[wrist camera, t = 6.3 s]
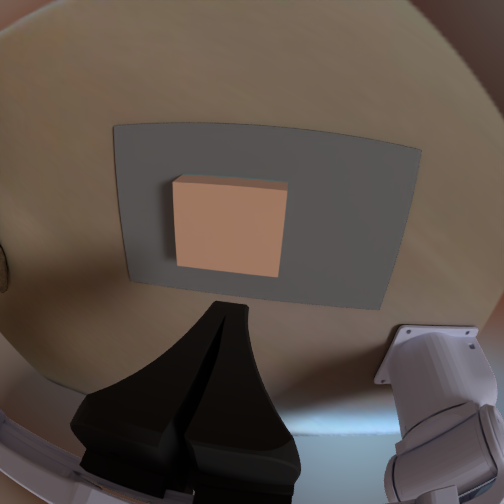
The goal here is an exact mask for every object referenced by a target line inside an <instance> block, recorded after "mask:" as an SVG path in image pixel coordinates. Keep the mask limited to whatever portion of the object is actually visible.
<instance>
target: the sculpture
mask: <svg viewBox="0 0 504 504" xmlns="http://www.w3.org/2000/svg"><path fill="white" fill-rule="evenodd" d="M7 272H8V270H7V266H6V260H5V256H4V254H3V251H2V249H1V247H0V292H1V293H4V292H5V291H7V289H8V281H7V277H6V276H7Z"/></svg>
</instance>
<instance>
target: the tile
mask: <svg viewBox="0 0 504 504" xmlns="http://www.w3.org/2000/svg"><path fill="white" fill-rule="evenodd" d="M287 191H288V182H285V181H275V180H264V179H253V178H241V177H227V176H212V175H194V174H182V175H181V176H180V177H178V178H177V179H176V180H175V181H173V206H174V225H175V242H176V256H177V266H184V267H192V268H200V269H209V270H217V271H225V272H234V273H243V274H251V275H260V276H269V277H278V273H279V265H280V256H281V247H282V238H283V229H284V220H285V210H286V201H287Z"/></svg>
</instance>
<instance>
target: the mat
mask: <svg viewBox="0 0 504 504" xmlns="http://www.w3.org/2000/svg"><path fill="white" fill-rule="evenodd" d="M114 146H115V163H116V176H117V188H118V198H119V207H120V216H121V224H122V231H123V239H124V245H125V252H126V258H127V264H128V270H129V276H130V281H134V282H140V283H146V284H153V285H159V286H166V287H172V288H179V289H186V290H193V291H201V292H208V293H215V294H223V295H231V296H239V297H247V298H256V299H264V300H273V301H283V302H292V303H302V304H312V305H323V306H334V307H346V308H358V309H371V310H380V307H381V304H382V301H383V298H384V295H385V293H386V290H387V287H388V284H389V281H390V277H391V274H392V271H393V268H394V265H395V262H396V258H397V255H398V251H399V248H400V245H401V241H402V237H403V234H404V230H405V226H406V222H407V218H408V214H409V210H410V206H411V202H412V197H413V193H414V188H415V184H416V179H417V174H418V169H419V163H420V158H421V152H422V150H420V149H416V148H411V147H407V146H402V145H398V144H393V143H388V142H383V141H378V140H373V139H367V138H361V137H355V136H349V135H343V134H336V133H329V132H322V131H314V130H306V129H297V128H287V127H276V126H264V125H249V124H229V123H147V124H127V125H115V126H114ZM182 174H194V175H212V176H227V177H241V178H253V179H264V180H275V181H285V182H288V191H287V201H286V210H285V220H284V229H283V238H282V247H281V256H280V265H279V273H278V277H269V276H260V275H251V274H243V273H234V272H225V271H217V270H209V269H200V268H192V267H184V266H177V256H176V242H175V225H174V206H173V181H175V180H176V179H177V178H178V177H180V176H181V175H182Z"/></svg>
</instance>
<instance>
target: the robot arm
mask: <svg viewBox="0 0 504 504" xmlns="http://www.w3.org/2000/svg"><path fill="white" fill-rule="evenodd" d="M248 312H249V307H248V306H247V305H245V304H237V303H229V302H221V301H215V302H213V303H212V305H211V306H210V307H209V309H208V310H207V311H206V312H205V313H204V315H203V316H202V317H201V318H200V319H199V320H198V321H197V323H196V324H195V325H194V326H193V327H192V328H191V329H190V330H189V331H188V332H187V333H186V334H185V335H184V336H183V337H182V338H181V339H180V340H179V341H177V342H176V343H175V344H174V345H173V346H172V347H171V348H170V349H169V350H167V351H166V352H165V353H164V354H162V355H161V356H160V357H158V358H157V359H156V360H154V361H153V362H151V363H150V364H149V365H147V366H146V367H144V368H143V369H141V370H139V371H138V372H136V373H134V374H133V375H131V376H129V377H127V378H125V379H123V380H121V381H119V382H118V383H116V384H113V385H111V386H109V387H107V388H104V389H102V390H99V391H96V392H94V393H91V394H88V395H87V396H86V397H85V399H84V400H83V402H82V403H81V405H80V406H79V408H78V410H77V412H76V414H75V415H74V417H73V419H72V421H71V423H70V426H71V430H72V431H73V433H74V434H75V436H76V437H77V438H78V439H79V440H80V442H81V443H82V444H83V445H84V446H85V447H86V451H85V454H84V456H83V458H80V457H77V456H75V455H73V454H71V453H69V452H67V451H65V450H63V449H61V448H59V447H57V446H55V445H53V444H51V443H49V442H48V441H46V440H44V439H42V438H40V437H38V436H37V435H35V434H33V433H31V432H30V431H28V430H26V429H25V428H23V427H21V426H20V425H18V424H17V423H15V422H13V421H12V420H10V419H9V418H7V417H6V415H5V414H4V413H3V411H2V410H1V409H0V470H1V471H2V472H3V473H4V474H6V475H8V476H9V477H10V478H11V479H13V480H14V481H15V482H17V483H18V484H20V485H22V486H23V487H24V488H26V489H27V490H29V491H30V492H32V493H33V494H35V495H36V496H38V497H40V498H41V499H43V500H45V501H46V502H48V503H50V504H137V503H134V502H131V501H128V500H126V499H123V498H120V497H118V496H115V495H112V494H110V493H107V492H105V491H103V490H102V489H101V487H99V486H97V485H100V486H102V487H104V488H107V489H109V490H112V491H115V492H117V493H120V494H122V495H125V496H128V497H131V498H134V499H137V500H140V501H143V502H146V503H149V504H291V502H292V496H293V493H294V484H295V482H296V480H297V479H298V477H299V476H300V473H301V463H300V458H299V454H298V451H297V447H296V444H295V441H294V438H293V436H292V435H291V433H290V432H289V431H288V429H287V428H286V426H285V424H284V423H283V421H282V420H281V418H280V416H279V415H278V413H277V411H276V409H275V407H274V405H273V403H272V401H271V399H270V397H269V395H268V393H267V391H266V389H265V387H264V384H263V382H262V380H261V377H260V374H259V371H258V368H257V365H256V362H255V359H254V355H253V351H252V347H251V342H250V337H249V331H248ZM407 330H409V331H407ZM477 333H478V328H477V327H456V326H417V325H402V326H400V327H399V328H398V330H397V332H396V335H395V337H394V339H393V341H392V343H391V345H390V348H389V350H388V352H387V354H386V356H385V358H384V360H383V362H382V364H381V366H380V368H379V370H378V372H377V374H376V376H375V378H374V383H375V384H391V386H392V390H393V395H394V400H395V405H396V410H397V415H398V420H399V425H400V431H401V436H402V440H401V441H400V442H398V443H396V444H395V447H396V455H394V456H393V457H391V459H390V460H389V462H388V464H387V467H386V471H385V476H384V487H385V492H386V495H387V498H388V501H389V503H388V504H504V420H503V418H502V416H501V414H500V413H499V411H498V409H497V408H496V407H495V404H496V400H497V383H496V379H495V376H494V374H493V372H492V369H491V368H490V365H489V364H488V361H487V359H486V357H485V355H484V353H483V351H482V349H481V347H480V345H479V344H478V342H477V340H476V338H475V336H476V335H477ZM496 476H497V478H495V477H496ZM493 478H495V479H494V480H493V481H491V482H490V483H488V484H486V485H484V486H482V487H480V488H478V489H476V490H474V491H472V492H470V493H468V494H466V495H464V496H462V497H460V498H458V496H459V495H461V494H464V493H466V492H468V491H470V490H471V489H474V488H476V487H478V486H480V485H482V484H484V483H485V482H487V481H489V480H491V479H493ZM92 482H93V483H92ZM94 483H95V484H97V485H95V484H94ZM193 490H194V491H195V495H193Z"/></svg>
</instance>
